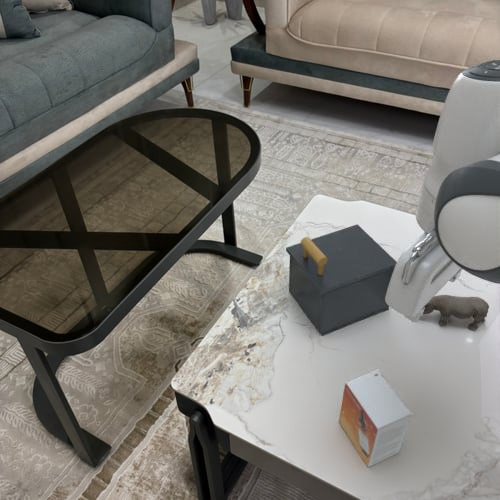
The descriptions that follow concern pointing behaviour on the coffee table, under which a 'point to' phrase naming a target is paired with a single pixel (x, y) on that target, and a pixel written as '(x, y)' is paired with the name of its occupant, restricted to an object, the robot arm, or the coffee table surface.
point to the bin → (339, 299)
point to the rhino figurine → (458, 309)
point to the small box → (374, 417)
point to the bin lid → (340, 258)
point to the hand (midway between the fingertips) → (432, 296)
